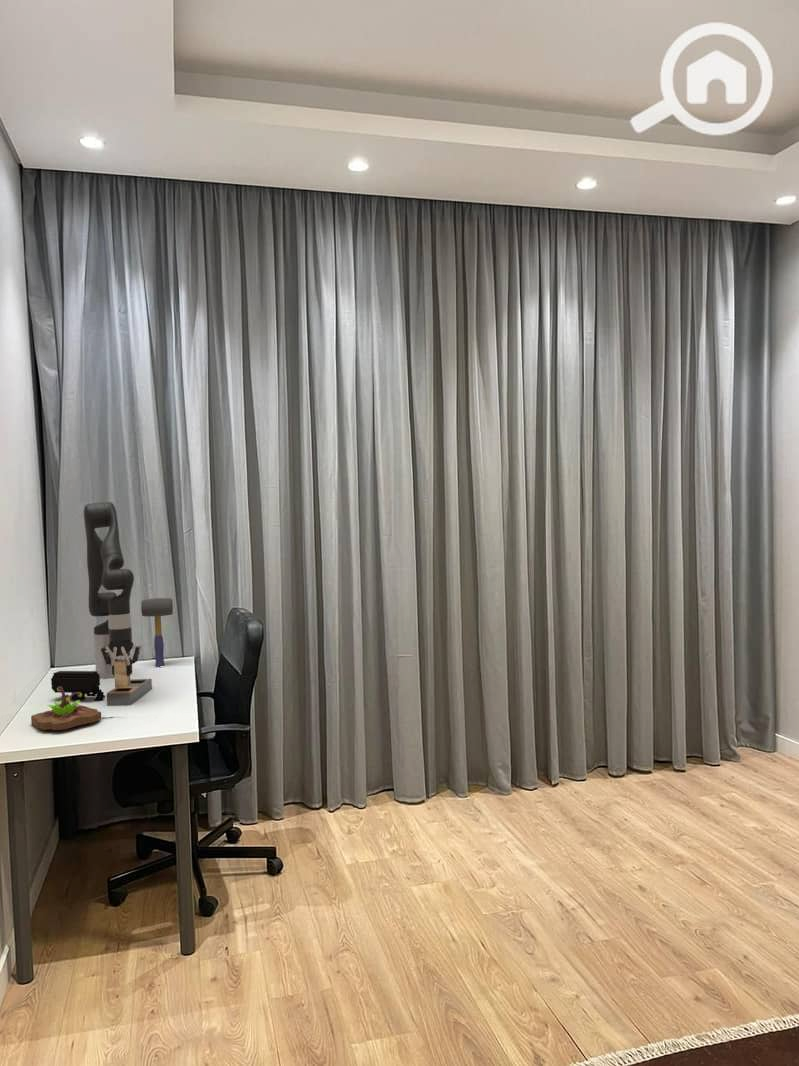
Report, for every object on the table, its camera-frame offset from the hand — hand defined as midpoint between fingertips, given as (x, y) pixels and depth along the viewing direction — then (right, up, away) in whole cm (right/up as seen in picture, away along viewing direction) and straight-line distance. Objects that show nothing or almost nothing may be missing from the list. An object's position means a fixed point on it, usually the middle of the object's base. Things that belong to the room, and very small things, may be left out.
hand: (122, 675), depth 297 cm
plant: (-11, -11, -23) cm, 28 cm away
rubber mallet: (-2, -7, +56) cm, 56 cm away
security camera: (-17, -10, +6) cm, 20 cm away
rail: (+1, -9, +7) cm, 12 cm away
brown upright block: (0, -4, 0) cm, 4 cm away
